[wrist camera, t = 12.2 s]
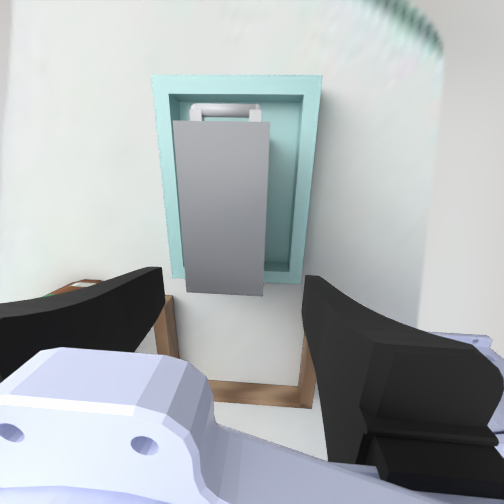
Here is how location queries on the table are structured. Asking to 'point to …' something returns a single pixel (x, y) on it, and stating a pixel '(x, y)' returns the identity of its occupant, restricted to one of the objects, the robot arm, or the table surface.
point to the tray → (280, 155)
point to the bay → (238, 390)
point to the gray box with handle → (223, 197)
